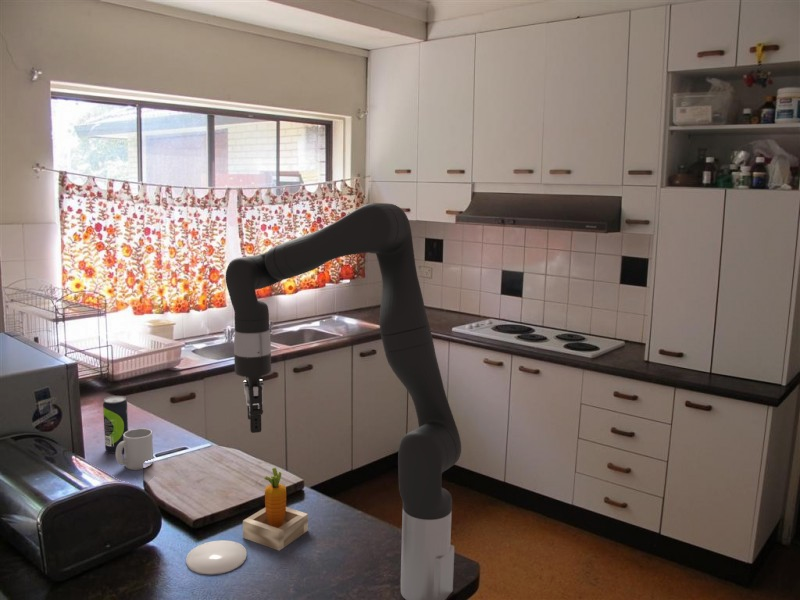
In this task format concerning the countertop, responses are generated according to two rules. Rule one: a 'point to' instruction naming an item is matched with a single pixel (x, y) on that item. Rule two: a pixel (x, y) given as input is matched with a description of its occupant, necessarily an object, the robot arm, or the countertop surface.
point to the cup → (135, 448)
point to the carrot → (275, 500)
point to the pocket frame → (272, 536)
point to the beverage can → (115, 421)
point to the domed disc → (216, 557)
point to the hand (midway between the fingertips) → (254, 425)
